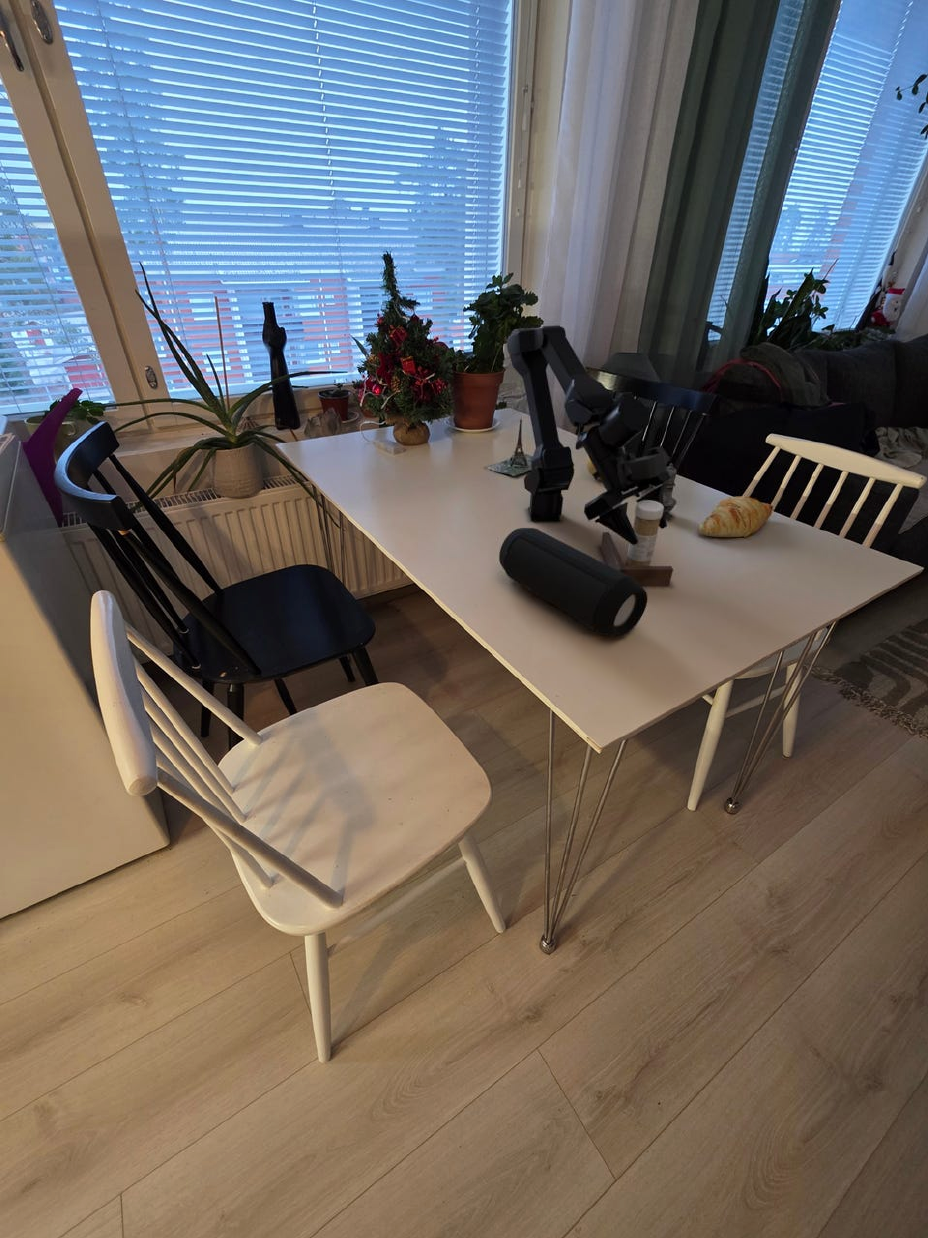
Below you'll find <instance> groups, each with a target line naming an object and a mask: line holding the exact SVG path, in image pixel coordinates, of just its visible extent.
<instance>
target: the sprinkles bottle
mask: <svg viewBox="0 0 928 1238" xmlns="http://www.w3.org/2000/svg"><path fill="white" fill-rule="evenodd" d="M663 509H664V506H663V505H662V504H661V503H659V502H656V501H652V500H643V501H640V502H638V503H637V502H636V506H635V510H634V521H633V525H632V527H633V529H634V532H635V534H636V537H637V539H638V543H637V544H635V545H632V544H630V543H629V542H628V543H629V544H628V549H627V556H626V561H625V564H624V565H625V566H651V562H652V559H653V556H654V552H655V551H654V550H655V547H656V542H657V538H658V534H659V528H660V527H659V523H660V520H661V517H662V514H663Z"/></svg>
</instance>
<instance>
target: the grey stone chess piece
mask: <svg viewBox="0 0 928 1238" xmlns="http://www.w3.org/2000/svg"><path fill="white" fill-rule="evenodd" d="M666 468H667V471H668V473H669V475H670V477H671V479H670V480H668V481H666V482H665V483H663V484H662V485H664V484H666V483H669V484H668V486H667V487H666V489H665V492H664V494H663V502H664V509H665V515H666V521H669V520H671V519H672V514H671V513H670V512H672V510H673V509H674V508H675V506H676V505H677V504H678V503H677V502H678V501H677V499H675V498H674V497H673V491H674V487H676V483H675V480H676V476H677V469H676V468H675V467H674V466H673V463H672V462H671V463H669V466H666Z"/></svg>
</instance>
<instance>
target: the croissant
mask: <svg viewBox="0 0 928 1238" xmlns="http://www.w3.org/2000/svg"><path fill="white" fill-rule="evenodd" d="M773 508H774V507H773V505H772V504H769V503H767V502H762V501H760V500H759V499H757V498H754V497H750V496H743V495H742V496H740V495H739V496H732V497H731V496H730V497H727V498H724V499H723V500H721V501H720V502H718V503H717V505H716V508H715V509H713V510H712V511H711V513H710V515H709V516H708V517H706V519H705V520H704V522H703V523H702V524H700V527H699V529H698V531H699V534H701V535H702V536H707V537H714V538H737V537H738V538H742V537H745V538H746V537H748V536H750V535H751V534H754V533H756V532H757V531H758V530H760V528H761V527H762V526H763V525H764V524H765V523H766V521H767V520H768V519H770V517H771V516H772V513H773Z"/></svg>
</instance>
